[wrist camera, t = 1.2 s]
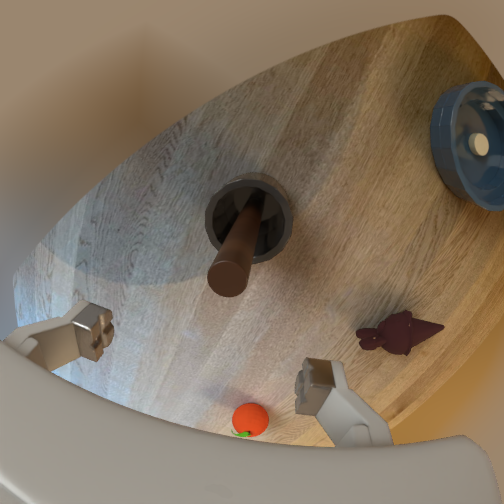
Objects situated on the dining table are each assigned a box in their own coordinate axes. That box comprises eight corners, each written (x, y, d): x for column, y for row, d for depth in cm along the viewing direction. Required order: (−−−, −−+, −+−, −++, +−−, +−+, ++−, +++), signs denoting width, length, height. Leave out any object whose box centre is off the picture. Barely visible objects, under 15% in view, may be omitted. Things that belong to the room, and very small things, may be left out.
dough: (465, 139, 28) (471, 140, 27) (476, 129, 27) (482, 129, 26) (474, 158, 29) (480, 159, 27) (485, 148, 28) (491, 148, 26)
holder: (206, 203, 36) (187, 218, 28) (258, 157, 33) (252, 160, 26) (250, 252, 38) (244, 279, 30) (303, 211, 35) (310, 229, 28)
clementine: (244, 420, 51) (241, 447, 45) (223, 404, 50) (217, 431, 43) (276, 409, 49) (275, 438, 42) (255, 392, 47) (252, 421, 41)
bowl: (405, 120, 29) (426, 117, 24) (472, 69, 24) (495, 63, 19) (460, 223, 33) (483, 236, 28) (517, 165, 28) (540, 170, 22)
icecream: (456, 311, 31) (361, 323, 35) (449, 356, 32) (359, 370, 35) (437, 298, 38) (354, 308, 41) (433, 339, 39) (353, 350, 42)
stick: (240, 206, 35) (198, 276, 16) (255, 194, 34) (228, 252, 16) (252, 220, 36) (226, 304, 17) (267, 209, 35) (256, 283, 16)
